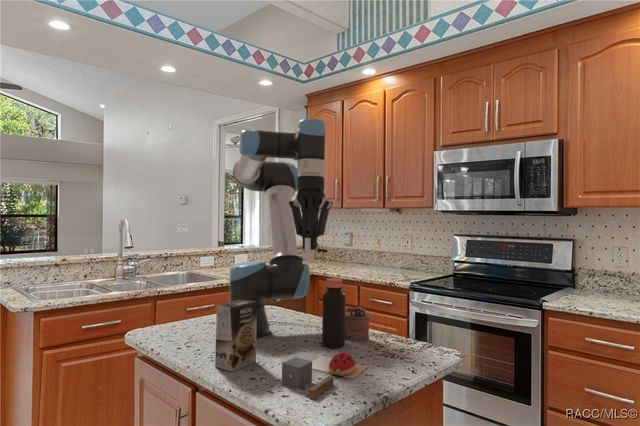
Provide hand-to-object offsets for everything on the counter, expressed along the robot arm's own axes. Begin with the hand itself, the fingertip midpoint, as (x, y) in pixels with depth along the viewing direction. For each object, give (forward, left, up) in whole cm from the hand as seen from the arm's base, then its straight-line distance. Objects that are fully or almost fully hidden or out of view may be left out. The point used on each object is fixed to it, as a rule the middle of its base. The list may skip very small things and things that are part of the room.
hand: (309, 261), depth 114 cm
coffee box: (-13, -14, -27) cm, 33 cm away
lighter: (+4, +23, -27) cm, 35 cm away
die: (+10, -16, -24) cm, 31 cm away
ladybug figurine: (+12, -4, -26) cm, 29 cm away
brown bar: (+14, -17, -26) cm, 34 cm away
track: (+6, -2, -26) cm, 27 cm away
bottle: (+1, +13, -27) cm, 30 cm away
